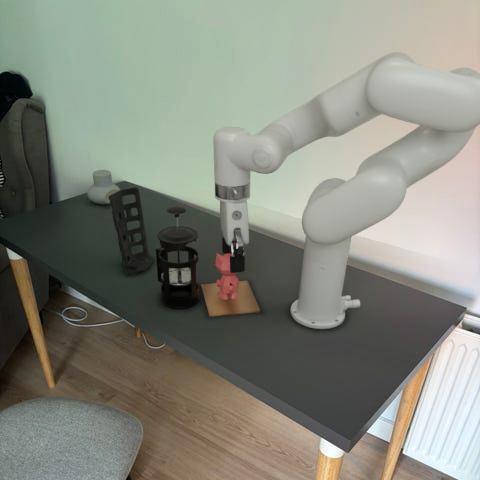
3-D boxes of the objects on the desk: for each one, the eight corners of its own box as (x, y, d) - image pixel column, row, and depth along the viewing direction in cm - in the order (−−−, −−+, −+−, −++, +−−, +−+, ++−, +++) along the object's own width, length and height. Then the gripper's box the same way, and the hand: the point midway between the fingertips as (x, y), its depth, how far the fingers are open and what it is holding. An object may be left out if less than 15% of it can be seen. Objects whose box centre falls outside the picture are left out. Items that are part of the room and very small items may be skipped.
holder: (143, 277, 130) (128, 201, 119) (115, 276, 132) (98, 201, 121) (157, 258, 139) (145, 186, 128) (131, 257, 141) (117, 186, 130)
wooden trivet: (247, 282, 130) (247, 280, 130) (260, 312, 119) (260, 310, 119) (200, 285, 128) (200, 284, 128) (209, 316, 117) (209, 314, 116)
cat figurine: (239, 287, 127) (241, 244, 120) (246, 302, 121) (248, 257, 115) (211, 290, 125) (211, 246, 118) (217, 305, 120) (217, 259, 113)
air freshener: (108, 194, 178) (105, 165, 172) (125, 200, 174) (123, 171, 168) (84, 203, 170) (79, 173, 164) (101, 209, 166) (97, 179, 161)
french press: (210, 298, 123) (209, 207, 110) (184, 315, 117) (180, 221, 104) (173, 282, 129) (169, 195, 116) (147, 298, 122) (139, 207, 109)
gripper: (259, 203, 102) (257, 278, 111) (241, 175, 116) (241, 244, 125) (222, 205, 100) (223, 281, 110) (208, 177, 114) (211, 247, 124)
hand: (233, 261), depth 118 cm, fingers open, 9 cm apart
